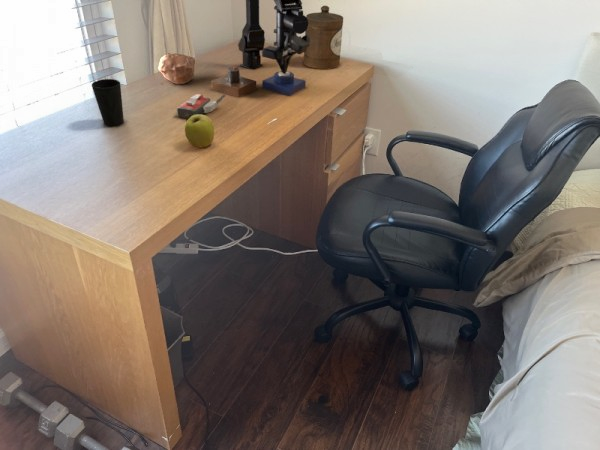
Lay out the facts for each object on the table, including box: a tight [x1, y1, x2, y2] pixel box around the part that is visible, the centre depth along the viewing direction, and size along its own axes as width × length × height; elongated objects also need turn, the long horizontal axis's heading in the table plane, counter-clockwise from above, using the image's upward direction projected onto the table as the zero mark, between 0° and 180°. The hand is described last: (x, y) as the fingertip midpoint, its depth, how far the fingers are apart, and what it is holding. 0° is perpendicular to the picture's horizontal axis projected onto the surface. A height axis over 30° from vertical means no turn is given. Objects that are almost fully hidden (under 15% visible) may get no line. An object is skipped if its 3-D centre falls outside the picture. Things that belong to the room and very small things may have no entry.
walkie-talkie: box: [176, 93, 226, 120], centre depth 152 cm, size 9×4×20 cm
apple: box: [184, 114, 215, 148], centre depth 130 cm, size 8×8×10 cm
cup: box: [91, 78, 125, 128], centre depth 139 cm, size 8×8×12 cm
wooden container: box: [303, 5, 344, 70], centre depth 189 cm, size 15×15×22 cm
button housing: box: [261, 70, 307, 97], centre depth 170 cm, size 12×10×5 cm
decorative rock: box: [157, 52, 196, 85], centre depth 170 cm, size 13×11×10 cm
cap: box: [278, 71, 290, 77], centre depth 168 cm, size 4×4×2 cm
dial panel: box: [211, 74, 257, 98], centre depth 167 cm, size 12×10×3 cm
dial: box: [227, 66, 241, 83], centre depth 165 cm, size 4×4×4 cm
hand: (284, 73), depth 168 cm, fingers closed, pressing on cap
